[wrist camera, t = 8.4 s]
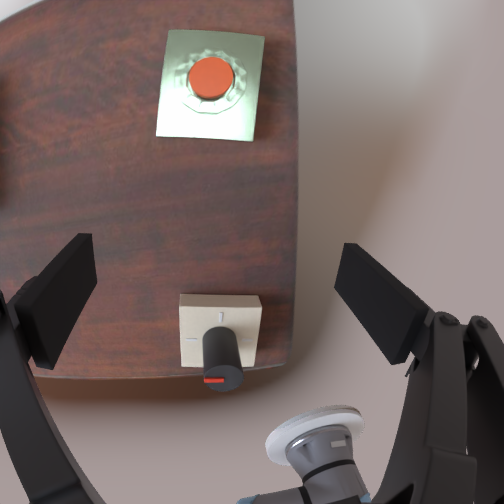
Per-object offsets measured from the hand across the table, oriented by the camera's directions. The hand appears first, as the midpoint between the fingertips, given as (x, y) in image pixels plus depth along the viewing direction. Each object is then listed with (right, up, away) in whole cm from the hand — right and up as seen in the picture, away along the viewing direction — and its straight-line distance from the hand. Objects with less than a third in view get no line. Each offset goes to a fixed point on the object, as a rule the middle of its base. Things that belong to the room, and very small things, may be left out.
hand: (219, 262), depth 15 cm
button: (-2, +17, +10) cm, 20 cm away
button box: (-3, +18, +13) cm, 23 cm away
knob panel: (-3, -10, +25) cm, 27 cm away
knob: (-3, -11, +22) cm, 25 cm away
